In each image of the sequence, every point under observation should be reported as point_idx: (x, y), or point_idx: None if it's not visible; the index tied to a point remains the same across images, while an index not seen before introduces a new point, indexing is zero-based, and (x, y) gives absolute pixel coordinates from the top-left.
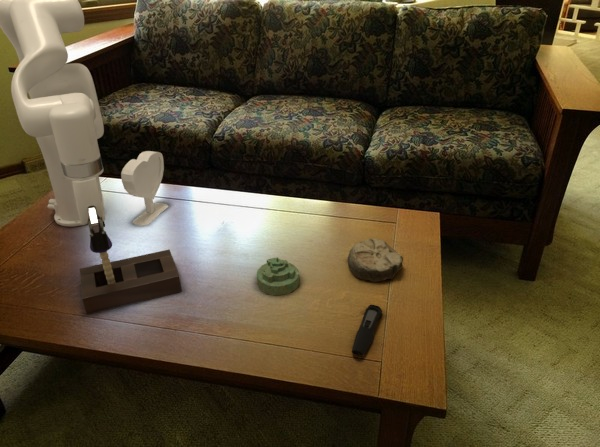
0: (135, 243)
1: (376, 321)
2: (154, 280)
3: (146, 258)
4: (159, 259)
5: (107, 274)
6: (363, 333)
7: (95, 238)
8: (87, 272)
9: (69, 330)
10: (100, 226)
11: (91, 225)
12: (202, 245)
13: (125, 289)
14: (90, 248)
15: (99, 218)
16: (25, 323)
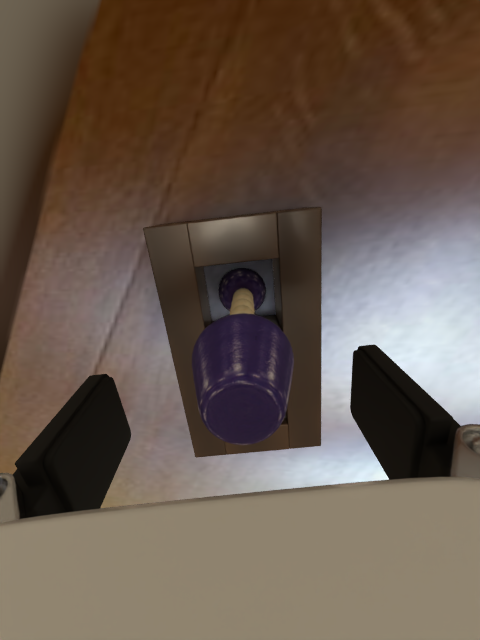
0: (443, 342)
1: None
2: (190, 411)
3: (299, 397)
4: (287, 421)
5: (231, 307)
6: None
7: (16, 477)
8: (286, 237)
9: (101, 180)
10: (354, 400)
11: (365, 369)
12: (354, 468)
13: (170, 345)
14: (225, 319)
15: (382, 446)
16: (151, 21)
